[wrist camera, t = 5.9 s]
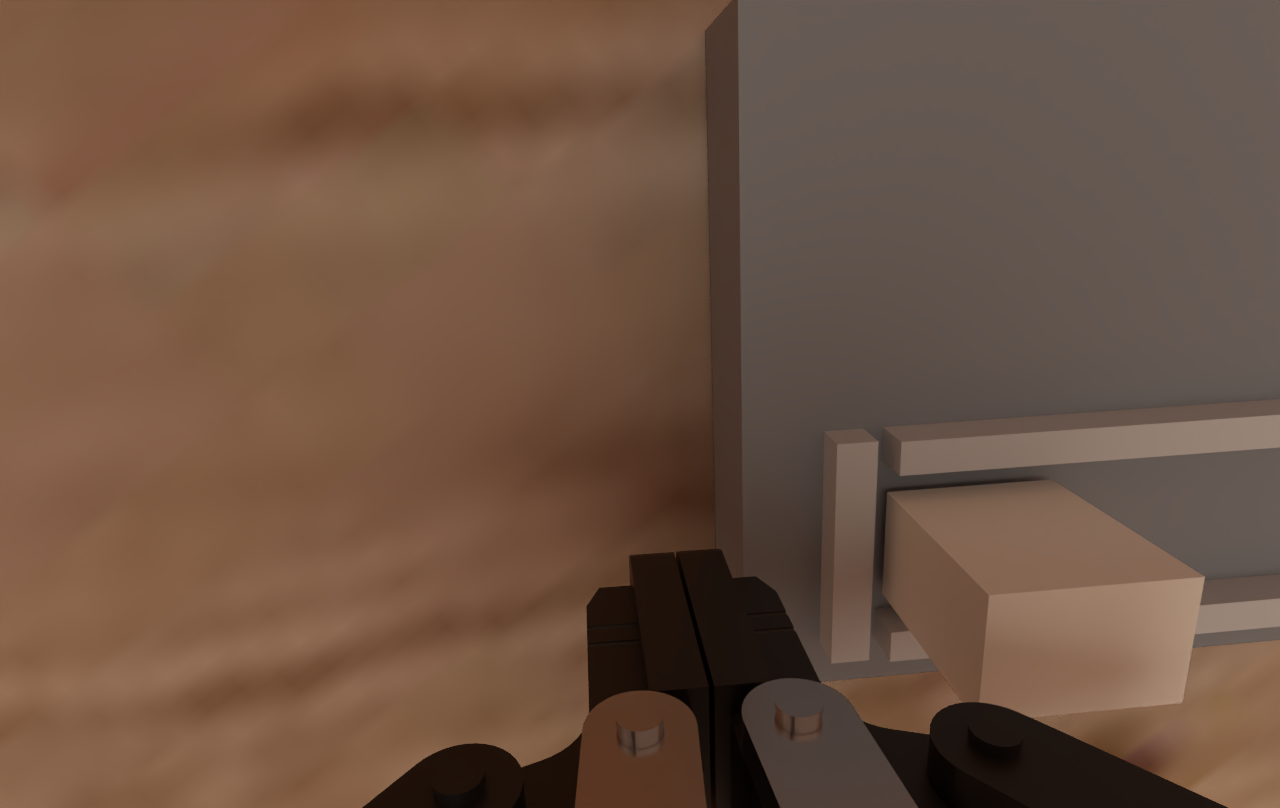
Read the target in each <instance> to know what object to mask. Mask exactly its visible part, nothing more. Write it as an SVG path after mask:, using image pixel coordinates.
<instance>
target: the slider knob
mask: <svg viewBox="0 0 1280 808" xmlns="http://www.w3.org/2000/svg"><path fill="white" fill-rule="evenodd" d="M1204 580H1205V576H1203V575H1201V574H1200V573H1198V572H1197V571H1195V570H1194V569H1192V568H1190V567H1189V566H1187V565H1186V564H1184V563H1182V562H1181V561H1179V560H1178V559H1176V558H1175V557H1173V556H1171V555H1170V554H1168V553H1167V552H1165V551H1164V550H1162V549H1160V548H1159V547H1157V546H1156V545H1154V544H1153V543H1151V542H1149V541H1148V540H1146V539H1145V538H1143V537H1142V536H1140V535H1138V534H1137V533H1135V532H1134V531H1132V530H1131V529H1129V528H1127V527H1126V526H1124V525H1123V524H1121V523H1120V522H1118V521H1116V520H1115V519H1113V518H1112V517H1110V516H1109V515H1107V514H1105V513H1104V512H1102V511H1101V510H1099V509H1098V508H1096V507H1094V506H1093V505H1091V504H1090V503H1088V502H1087V501H1085V500H1083V499H1082V498H1080V497H1079V496H1077V495H1076V494H1074V493H1072V492H1071V491H1069V490H1068V489H1066V488H1065V487H1063V486H1061V485H1060V484H1058V483H1057V482H1055V481H1054V480H1052V479H1051V480H1038V481H1024V482H1011V483H998V484H985V485H972V486H959V487H946V488H933V489H920V490H906V491H893V492H887V503H886V524H885V544H884V565H883V586H882V594H883V595H884V597H885V598H886V599H887V601H888V602H889V603H890V605H891V606H892V607H893V609H894V610H895V612H896V613H897V614H898V616H899V617H900V618H901V620H902V621H903V622H904V624H905V625H906V626H907V628H908V629H909V631H910V632H911V633H912V635H913V636H914V637H915V639H916V640H917V641H918V643H919V644H920V645H921V647H922V648H923V650H924V651H925V652H926V654H927V655H928V656H929V658H930V659H931V660H932V662H933V663H934V665H935V666H936V667H937V669H938V670H939V671H940V673H941V674H942V675H943V677H944V678H945V679H946V681H947V682H948V684H949V685H950V686H951V688H952V689H953V690H954V692H955V693H956V694H957V696H958V697H959V698H960V700H961V701H962V703H965V702H980V703H989V704H994V705H999V706H1002V707H1005V708H1009V709H1011V710H1014V711H1016V712H1019V713H1021V714H1023V715H1026V716H1028V717H1030V718H1032V717H1042V716H1052V715H1063V714H1073V713H1084V712H1094V711H1104V710H1115V709H1125V708H1135V707H1146V706H1156V705H1166V704H1177V703H1182V702H1183V696H1184V691H1185V685H1186V680H1187V674H1188V668H1189V663H1190V657H1191V652H1192V646H1193V641H1194V635H1195V630H1196V624H1197V619H1198V613H1199V608H1200V602H1201V597H1202V591H1203V585H1204Z"/></svg>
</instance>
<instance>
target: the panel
mask: <svg viewBox="0 0 1280 808" xmlns="http://www.w3.org/2000/svg"><path fill="white" fill-rule="evenodd" d="M705 48H706V97H707V146H708V195H709V244H710V293H711V342H712V391H713V440H714V489H715V538H716V549H721V550H722V552H723V555H724V557H725V560H726V562H727V565H728V567H729V570H730V572H731V575H732V578H738V577H752V576H756V577H758V578H759V579H760V580H762V581H763V582H764V583H766V584H767V585H768V586H770V587H771V588H772V589H774V590H775V591H776V592H777V594H778V596H779V598H780V600H781V602H782V604H783V606H784V608H785V610H786V615H788V616H789V618H790V620H791V622H792V624H793V626H794V631H796V633H797V635H798V637H799V639H800V641H801V643H802V645H803V647H804V649H805V651H806V653H807V655H808V657H809V659H810V661H811V664H812V666H813V668H814V670H815V672H816V674H817V676H818V678H819V680H820V682H824V681H835V680H846V679H857V678H868V677H879V676H890V675H901V674H912V673H923V672H933V671H939V670H938V669H937V667H936V666H935V665H934V663H933V662H932V660H931V659H930V658H929V656H928V655H927V654H926V652H925V651H924V650H923V648H922V647H921V645H920V644H919V643H918V641H917V640H916V639H915V637H914V636H913V635H912V633H911V632H910V631H909V629H908V628H907V626H906V625H905V624H904V622H903V621H902V620H901V618H900V617H899V616H898V614H897V613H896V612H895V610H894V609H893V607H892V606H891V605H890V603H889V602H888V601H887V599H886V598H885V597H884V595H883V594H882V586H883V565H884V544H885V524H886V503H887V492H893V491H906V490H920V489H933V488H946V487H959V486H972V485H985V484H998V483H1011V482H1024V481H1038V480H1051V479H1052V480H1054V481H1055V482H1057V483H1058V484H1060V485H1061V486H1063V487H1065V488H1066V489H1068V490H1069V491H1071V492H1072V493H1074V494H1076V495H1077V496H1079V497H1080V498H1082V499H1083V500H1085V501H1087V502H1088V503H1090V504H1091V505H1093V506H1094V507H1096V508H1098V509H1099V510H1101V511H1102V512H1104V513H1105V514H1107V515H1109V516H1110V517H1112V518H1113V519H1115V520H1116V521H1118V522H1120V523H1121V524H1123V525H1124V526H1126V527H1127V528H1129V529H1131V530H1132V531H1134V532H1135V533H1137V534H1138V535H1140V536H1142V537H1143V538H1145V539H1146V540H1148V541H1149V542H1151V543H1153V544H1154V545H1156V546H1157V547H1159V548H1160V549H1162V550H1164V551H1165V552H1167V553H1168V554H1170V555H1171V556H1173V557H1175V558H1176V559H1178V560H1179V561H1181V562H1182V563H1184V564H1186V565H1187V566H1189V567H1190V568H1192V569H1194V570H1195V571H1197V572H1198V573H1200V574H1201V575H1203V576H1205V580H1204V585H1203V591H1202V597H1201V602H1200V608H1199V613H1198V619H1197V624H1196V630H1195V635H1194V641H1193V646H1192V648H1195V647H1206V646H1217V645H1228V644H1239V643H1250V642H1260V641H1271V640H1280V0H732V1H731V2H730V4H729V5H728V6H727V7H726V8H725V9H724V10H723V11H722V13H721V14H720V15H719V16H718V17H717V18H716V19H715V20H714V21H713V23H712V24H711V25H710V26H709V27H708V28H707V29H706V30H705Z"/></svg>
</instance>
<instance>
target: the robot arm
mask: <svg viewBox="0 0 1280 808" xmlns="http://www.w3.org/2000/svg"><path fill="white" fill-rule="evenodd" d="M629 569H630V586H620V587H606V588H599V589H598V591H597V592H596V594H595V595H594V596H593V598H592V599H591V601H590V602H589V604H588V605H587V642H588V681H589V714H588V715H587V717H586V719H585V721H584V724H583V729H582V733H581V734H580V736H579V737H578V738H577V739H576V740H575V741H574V742H573V743H572V744H571V745H570V746H568V747H567V748H565V749H564V750H563V751H561V752H559V753H557V754H556V755H554V756H552V757H549V758H547V759H544V760H542V761H539V762H536V763H533V764H530V765H527V766H525V767H522V768H521V767H520V765H519V763H518V761H517V760H516V759H515V758H514V757H513V756H512V755H511V754H510V753H508V752H507V751H505V750H503V749H501V748H498V747H496V746H492V745H487V744H477V743H476V744H463V745H457V746H453V747H449V748H446V749H443V750H441V751H438V752H436V753H434V754H432V755H430V756H428V757H426V758H425V759H423V760H422V761H421V762H419V763H418V764H416V765H415V766H414V767H413V768H411V769H410V770H409V771H408V772H406V773H405V774H404V775H403V776H401V777H400V778H399V779H398V780H396V781H395V782H394V783H393V784H391V785H390V786H389V787H388V788H386V789H385V790H384V791H383V792H381V793H380V794H379V795H378V796H376V797H375V798H374V799H373V800H371V801H370V802H369V803H368V804H366V805H365V806H364V807H363V808H1227V807H1225V806H1223V805H1221V804H1219V803H1216V802H1214V801H1212V800H1210V799H1208V798H1206V797H1203V796H1201V795H1199V794H1197V793H1195V792H1192V791H1190V790H1188V789H1186V788H1184V787H1181V786H1179V785H1177V784H1175V783H1173V782H1170V781H1168V780H1166V779H1164V778H1162V777H1159V776H1157V775H1155V774H1153V773H1151V772H1148V771H1146V770H1144V769H1142V768H1140V767H1138V766H1135V765H1133V764H1131V763H1129V762H1127V761H1124V760H1122V759H1120V758H1118V757H1116V756H1113V755H1111V754H1109V753H1107V752H1105V751H1102V750H1100V749H1098V748H1096V747H1094V746H1091V745H1089V744H1087V743H1085V742H1083V741H1080V740H1078V739H1076V738H1074V737H1072V736H1070V735H1067V734H1065V733H1063V732H1061V731H1059V730H1056V729H1054V728H1052V727H1050V726H1048V725H1045V724H1043V723H1041V722H1039V721H1037V720H1034V719H1032V718H1030V717H1028V716H1026V715H1023V714H1021V713H1019V712H1016V711H1014V710H1011V709H1009V708H1005V707H1002V706H999V705H994V704H989V703H980V702H965V703H958V704H954V705H950V706H948V707H946V708H944V709H942V710H941V711H939V712H938V713H937V714H936V715H935V716H934V718H933V719H932V722H931V724H930V735H928V734H921V733H914V732H907V731H900V730H893V729H888V728H882V727H878V726H875V725H871V724H868V723H866V722H863V721H862V720H861V718H860V716H859V715H858V713H857V712H856V710H855V709H854V707H853V706H852V704H851V703H850V702H849V701H848V699H846V698H845V697H844V696H843V695H842V694H841V693H839V692H838V691H836V690H835V689H833V688H831V687H829V686H827V685H824V684H821V682H820V680H819V678H818V676H817V674H816V672H815V670H814V668H813V666H812V664H811V661H810V659H809V657H808V655H807V653H806V651H805V649H804V647H803V645H802V643H801V641H800V639H799V637H798V635H797V633H796V631H794V626H793V624H792V622H791V620H790V618H789V616H788V615H786V610H785V608H784V606H783V604H782V602H781V600H780V598H779V596H778V594H777V592H776V591H775V590H774V589H772V588H771V587H770V586H768V585H767V584H766V583H764V582H763V581H762V580H760V579H759V578H758V577H756V576H752V577H738V578H732V575H731V572H730V570H729V567H728V565H727V562H726V560H725V557H724V555H723V552H722V550H721V549H708V550H694V551H680V552H676V559H675V555H674V553H673V552H668V553H654V554H640V555H629Z"/></svg>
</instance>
